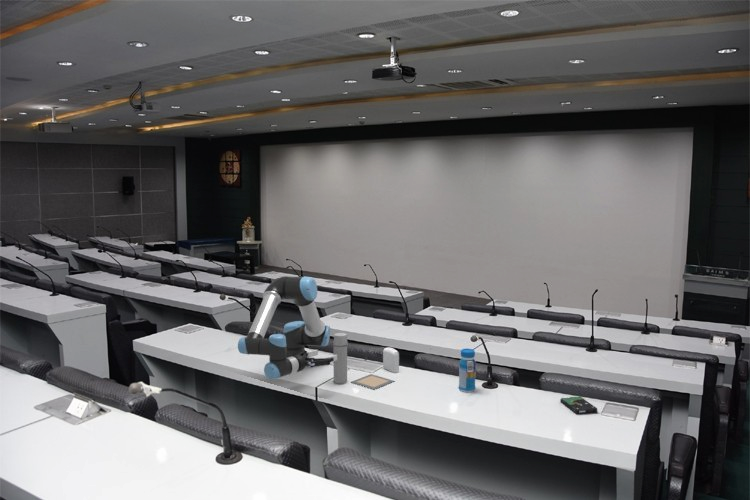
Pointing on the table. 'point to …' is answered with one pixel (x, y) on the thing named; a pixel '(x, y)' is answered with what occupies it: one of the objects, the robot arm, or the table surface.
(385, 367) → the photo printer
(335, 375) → the water bottle
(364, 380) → the pad
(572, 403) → the disk drive
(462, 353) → the beverage bottle
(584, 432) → the table surface
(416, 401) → the table surface
